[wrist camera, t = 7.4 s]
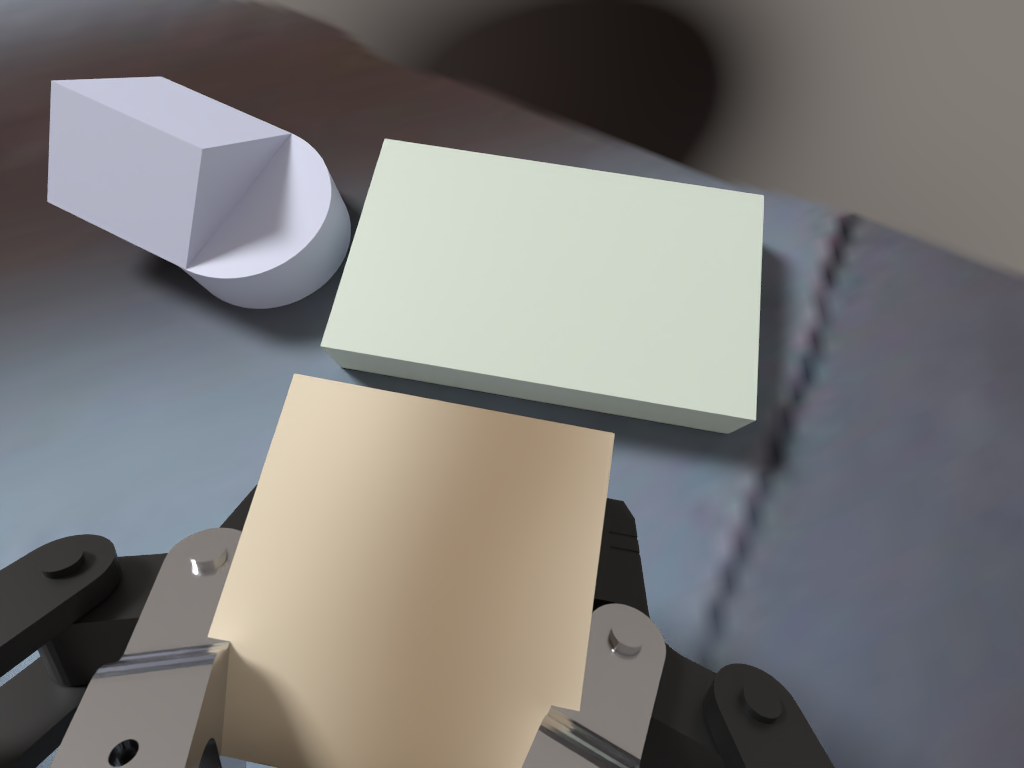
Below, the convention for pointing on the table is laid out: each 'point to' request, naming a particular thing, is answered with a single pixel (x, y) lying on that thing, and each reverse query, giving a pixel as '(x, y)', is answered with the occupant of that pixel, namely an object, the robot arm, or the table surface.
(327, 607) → the birch block
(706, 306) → the sage board
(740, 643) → the table surface
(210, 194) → the wedge on round base
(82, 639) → the robot arm
